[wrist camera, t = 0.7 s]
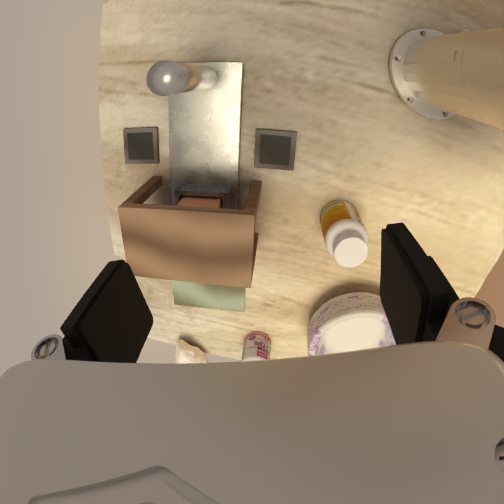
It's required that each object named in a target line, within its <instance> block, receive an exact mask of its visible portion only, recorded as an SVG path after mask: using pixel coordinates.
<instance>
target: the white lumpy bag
mask: <svg viewBox="0 0 504 504" xmlns="http://www.w3.org/2000/svg"><path fill="white" fill-rule="evenodd" d="M175 353H176V358H175V361H176V364H186V363H208V359H207V357H206V355H205V354H204V352H203V351H201V350H200V349H199V348H198V347H196V346H191V345H189V344H188V343H187V342H185V341H184V340H182V339H181V340H179V341H178V342H177V344H176V352H175Z"/></svg>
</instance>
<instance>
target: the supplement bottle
mask: <svg viewBox="0 0 504 504" xmlns="http://www.w3.org/2000/svg"><path fill="white" fill-rule="evenodd" d="M320 224H321V228H322V232H323V236H324V241H325V245H326V248H327V250H328V252H329V253H330V254H331V255H332V256H333V257H335V260H336V261H337V262H338V264H340V265H341V266H344V267H355V266H358V265H359V264H361V263H362V262H363V261H364V260H365V259H366V257H367V254H368V247H367V244H368V234H367V231H366V229H365V227H364V225H363V223H362V221H361V219H360V217H359V215H358V213H357V211H356V209H355V208H354V206H353V205H351V204H350V203H348V202H346V201H341V200H338V201H333V202H331V203H329V204H327V205H326V206H325V207H324V209H323V210H322V212H321V215H320Z"/></svg>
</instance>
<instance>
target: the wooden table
mask: <svg viewBox="0 0 504 504" xmlns="http://www.w3.org/2000/svg"><path fill="white" fill-rule="evenodd" d="M123 134H124V150H125V164H158V163H159V138H158V127H145V128H125V129H123ZM296 135H297V132H292V131H280V130H267V129H256V142H255V162H254V167H256V168H269V169H281V170H293V168H294V157H295V146H296ZM161 185H162V176H153V177H152V178H151V179H150V180H148V181H147V182H146V183H145V184H144V185H143V186H141V187H140V188H139V189H138V190H137V191H136V192H135V193H133V194H132V195H131V196H130V197H129V198H128V199H127V200H126V201H124V202H123V203H122V204H121V205H120V206H119V207H118V210H119V218H120V225H121V231H122V238H123V244H124V250H125V255H126V261H127V263H128V264H129V265H130V267H131V269H132V272H133V274H134V276H141V277H149V278H158V279H167V280H172V287H173V295H174V303H175V304H176V305H184V306H192V307H201V308H210V309H219V310H228V311H239V312H244V304H245V287H246V288H251V282H252V276H253V269H254V262H255V256H256V249H257V242H258V234H257V233H254V231H255V219H256V213H257V208H258V203H259V197H260V192H261V181H252V183H251V187H250V190H249V194H248V198H247V201H246V205H245V208H244V210H238V209H224V208H209V207H193V206H175V205H155V204H143V203H144V202H145V201H146V200H147V199H148V198H149V197H150V196H151V195H152V194H153V193H154V192H155V191H156V190H157V189H158V188H159V187H160V186H161Z"/></svg>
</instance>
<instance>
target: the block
mask: <svg viewBox="0 0 504 504" xmlns="http://www.w3.org/2000/svg"><path fill="white" fill-rule="evenodd" d="M177 206H193V207H209V208H222V197H207V196H188V195H184V196H183V198H182V199H181V200H180V202H179V203H178V204H177Z"/></svg>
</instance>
